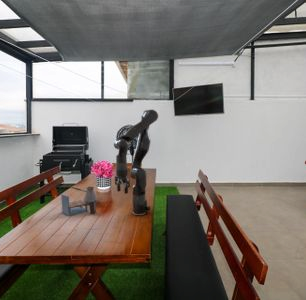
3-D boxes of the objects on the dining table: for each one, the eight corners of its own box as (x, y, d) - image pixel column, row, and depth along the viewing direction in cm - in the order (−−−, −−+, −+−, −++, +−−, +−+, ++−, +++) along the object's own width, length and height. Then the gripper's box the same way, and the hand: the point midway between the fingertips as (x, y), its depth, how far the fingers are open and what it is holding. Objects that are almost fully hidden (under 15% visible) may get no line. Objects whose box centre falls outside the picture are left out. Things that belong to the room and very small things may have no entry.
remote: (91, 211, 189) (91, 199, 188) (96, 211, 189) (95, 199, 188) (90, 213, 184) (89, 201, 184) (94, 213, 184) (93, 201, 183)
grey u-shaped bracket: (81, 207, 199) (80, 190, 198) (87, 211, 191) (86, 192, 190) (62, 212, 190) (61, 193, 188) (68, 215, 181) (67, 196, 180)
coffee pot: (96, 200, 219) (95, 182, 217) (99, 203, 208) (98, 185, 207) (70, 203, 211) (69, 185, 209) (72, 207, 200) (71, 188, 199)
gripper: (132, 169, 170) (133, 193, 171) (120, 167, 181) (121, 189, 182) (123, 170, 165) (124, 195, 166) (111, 168, 176) (112, 191, 177)
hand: (122, 192), depth 174 cm, fingers open, 8 cm apart
